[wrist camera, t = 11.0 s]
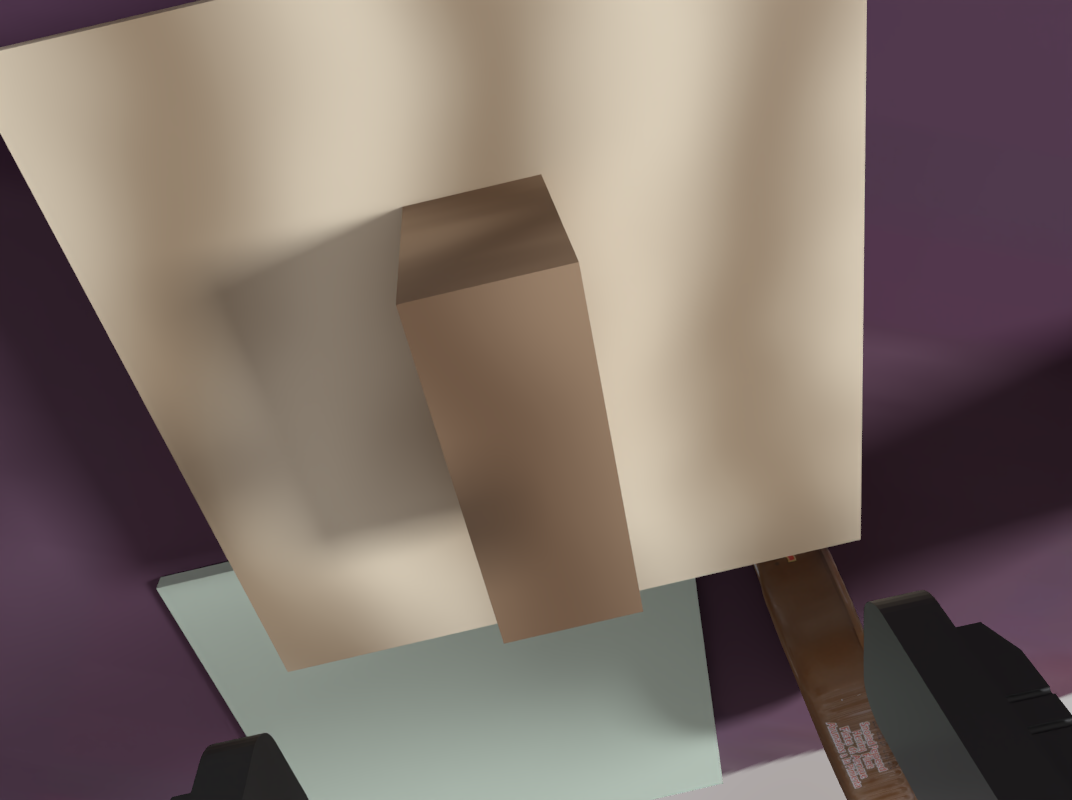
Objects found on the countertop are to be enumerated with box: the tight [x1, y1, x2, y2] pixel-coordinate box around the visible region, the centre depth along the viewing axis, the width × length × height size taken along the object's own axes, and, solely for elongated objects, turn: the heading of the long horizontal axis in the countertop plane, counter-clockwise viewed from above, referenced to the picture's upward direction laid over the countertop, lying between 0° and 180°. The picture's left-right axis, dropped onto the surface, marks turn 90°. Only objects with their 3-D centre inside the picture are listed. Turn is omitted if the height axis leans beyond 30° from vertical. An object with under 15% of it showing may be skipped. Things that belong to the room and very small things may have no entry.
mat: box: [156, 562, 723, 800], centre depth 36 cm, size 20×20×1 cm
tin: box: [753, 547, 917, 800], centre depth 32 cm, size 15×3×8 cm, turn 24°
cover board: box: [0, 0, 867, 672], centre depth 18 cm, size 17×17×6 cm
